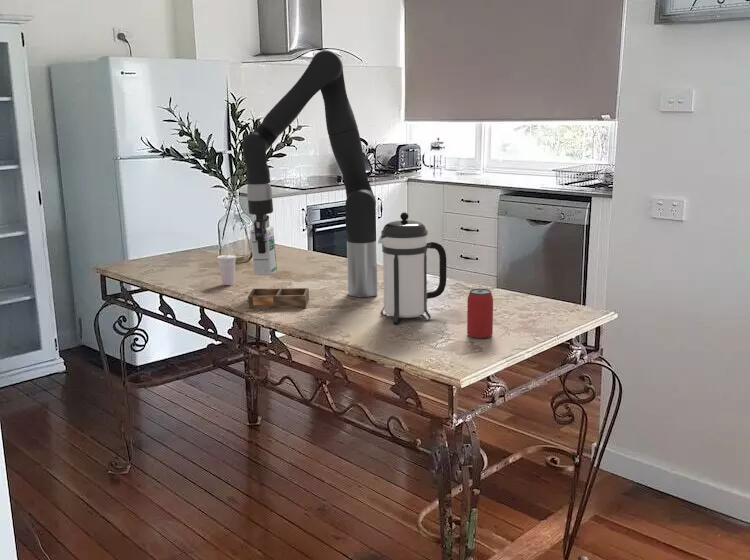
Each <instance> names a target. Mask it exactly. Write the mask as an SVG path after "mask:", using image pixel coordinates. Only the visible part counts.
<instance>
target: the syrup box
mask: <svg viewBox="0 0 750 560" xmlns="http://www.w3.org/2000/svg"><path fill="white" fill-rule="evenodd" d="M264 230H265V229H263V231H264ZM249 232H250V233H249V234H250V242H251V253H252V261H253V262H252V263H253V273H254V274H253V275H255V276H271V275H273V274H274V273H276V272H277V271H278V268H277V267H278V264H277V255H276V245H275V235H274V234H275V233H274V227H273V226H269V227H267V229H266V234H265V248H266V252H265V253H263V254H259V253H258V242H257V241H256V240H255V229H254V228H253V229H251V230H249ZM259 237H262V235H261V234H259Z"/></svg>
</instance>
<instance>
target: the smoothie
mask: <svg viewBox="0 0 750 560" xmlns="http://www.w3.org/2000/svg"><path fill="white" fill-rule="evenodd" d="M227 249H228V248H227V243H224V254H221V255H218V256H217V257H216V260H217V261H218V267H219V272H220V276H221V277H220V278H221V283H222V285H223V286H224V285H231V286H233V284H235V273H236V271H235V269H236V260H237V255H235V254H227V253H228V250H227Z"/></svg>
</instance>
